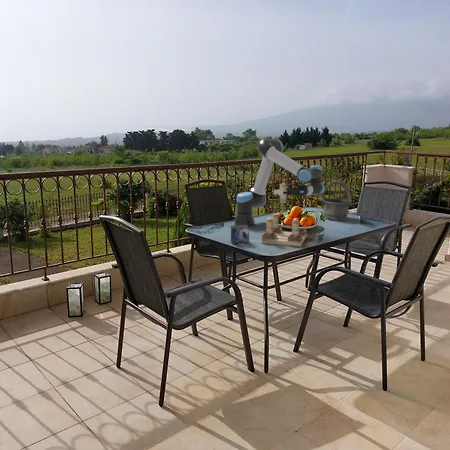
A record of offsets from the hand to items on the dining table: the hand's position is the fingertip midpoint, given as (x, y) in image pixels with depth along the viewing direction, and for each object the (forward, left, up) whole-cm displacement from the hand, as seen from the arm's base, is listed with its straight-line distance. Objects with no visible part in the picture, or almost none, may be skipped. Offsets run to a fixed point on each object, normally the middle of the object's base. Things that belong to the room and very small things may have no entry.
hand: (276, 192), depth 255 cm
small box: (+20, -18, -29) cm, 40 cm away
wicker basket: (-75, +32, -29) cm, 87 cm away
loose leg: (-4, +3, -7) cm, 9 cm away
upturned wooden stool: (+5, +7, -29) cm, 30 cm away
